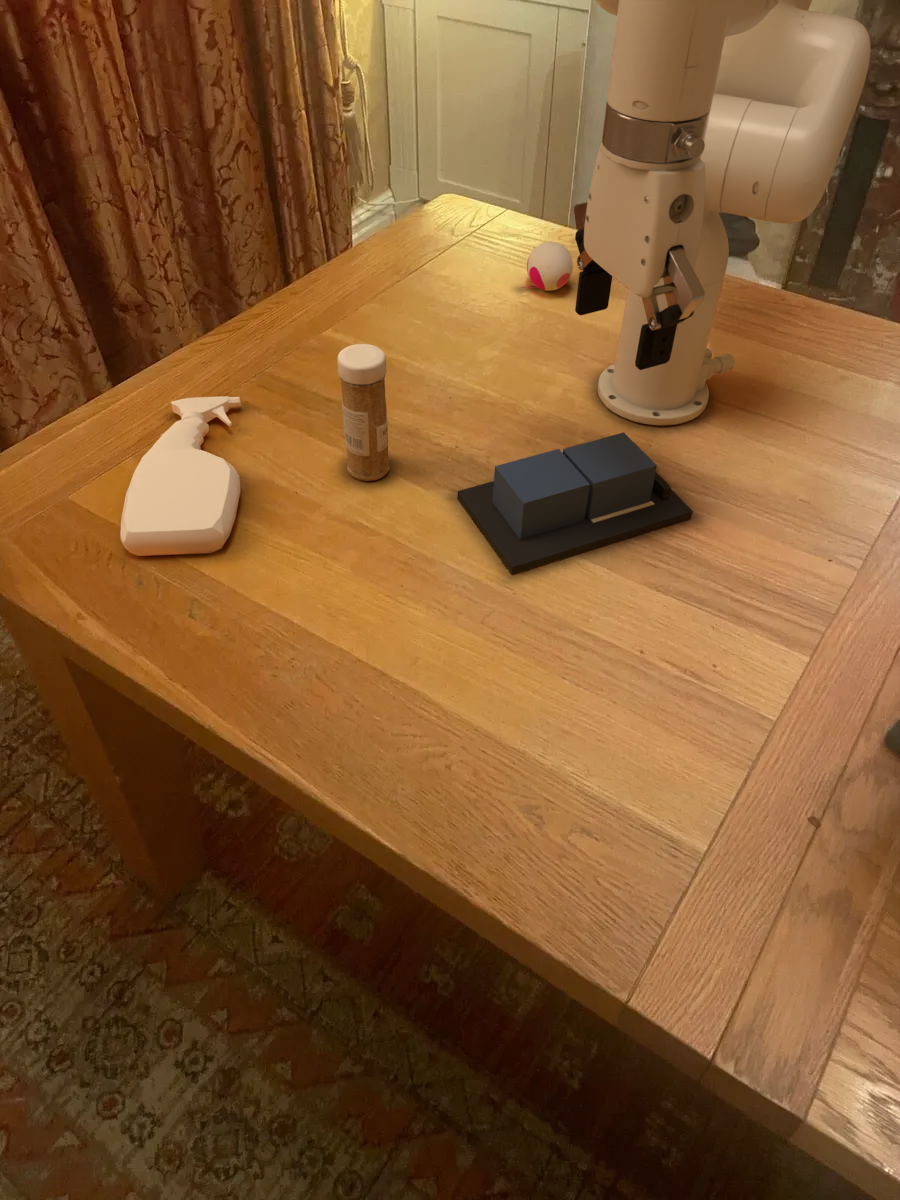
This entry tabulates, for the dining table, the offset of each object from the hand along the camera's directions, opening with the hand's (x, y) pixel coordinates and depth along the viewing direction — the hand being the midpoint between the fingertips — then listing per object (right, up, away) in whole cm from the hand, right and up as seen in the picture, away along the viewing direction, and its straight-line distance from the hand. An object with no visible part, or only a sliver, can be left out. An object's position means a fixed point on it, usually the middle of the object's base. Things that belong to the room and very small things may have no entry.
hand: (620, 336), depth 80 cm
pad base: (-3, -14, +11) cm, 18 cm away
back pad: (0, -13, +11) cm, 17 cm away
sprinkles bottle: (-23, -10, +15) cm, 29 cm away
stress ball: (-2, +19, +43) cm, 47 cm away
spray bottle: (-41, -11, +13) cm, 45 cm away
